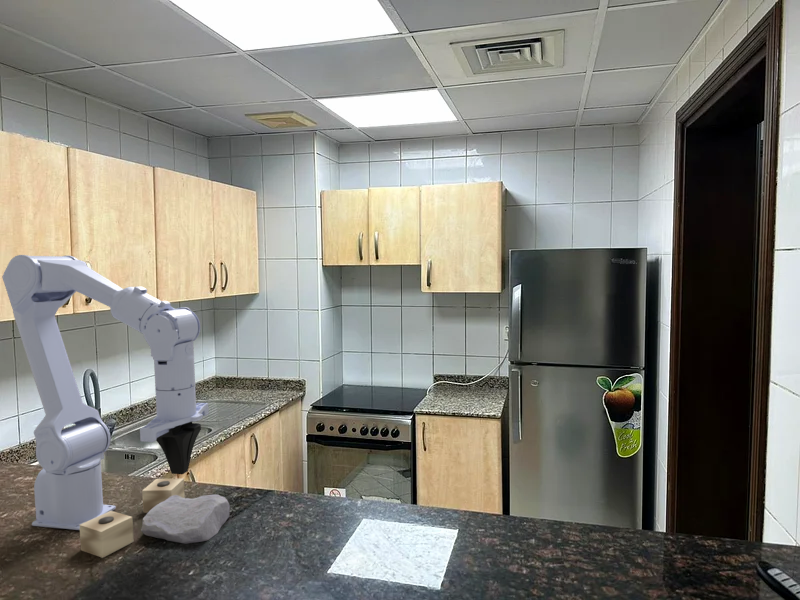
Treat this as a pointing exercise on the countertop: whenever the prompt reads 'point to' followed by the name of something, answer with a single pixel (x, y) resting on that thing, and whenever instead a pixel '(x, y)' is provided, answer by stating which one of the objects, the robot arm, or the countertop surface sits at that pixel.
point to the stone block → (186, 518)
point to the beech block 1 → (106, 533)
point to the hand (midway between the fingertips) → (179, 472)
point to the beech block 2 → (161, 492)
